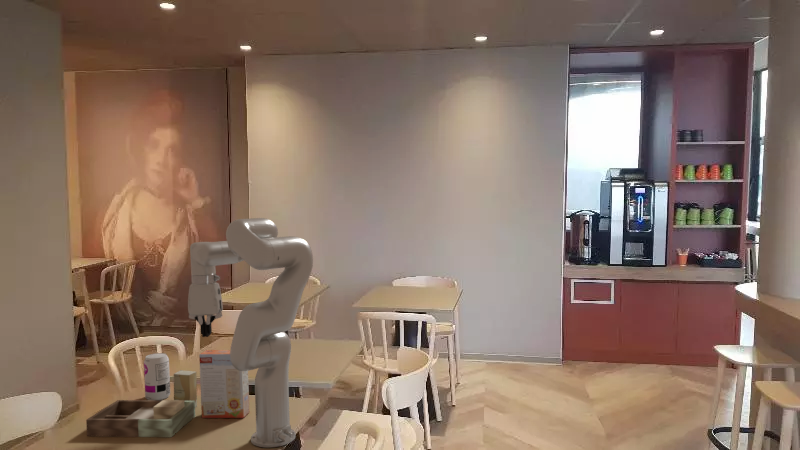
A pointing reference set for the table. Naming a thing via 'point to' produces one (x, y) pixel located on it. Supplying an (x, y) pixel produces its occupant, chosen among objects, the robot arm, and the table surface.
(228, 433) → the table surface
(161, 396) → the supplement can
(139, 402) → the track
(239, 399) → the cracker box
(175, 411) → the maple block
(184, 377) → the skincare box
